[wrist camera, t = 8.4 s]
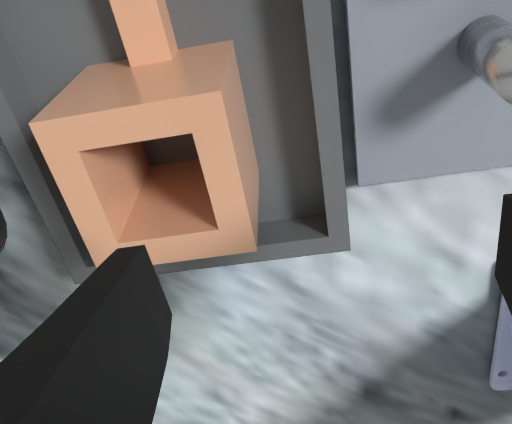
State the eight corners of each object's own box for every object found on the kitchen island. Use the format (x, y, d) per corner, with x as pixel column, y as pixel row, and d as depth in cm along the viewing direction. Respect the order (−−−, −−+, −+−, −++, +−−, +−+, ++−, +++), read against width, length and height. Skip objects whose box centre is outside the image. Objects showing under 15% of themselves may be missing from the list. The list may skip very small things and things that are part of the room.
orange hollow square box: (259, 172, 19) (257, 251, 15) (133, 191, 20) (98, 272, 15) (209, -76, 14) (185, -63, 10) (46, -42, 15) (-38, -16, 11)
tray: (342, 216, 21) (350, 250, 19) (92, 249, 22) (75, 284, 20) (308, -173, 14) (315, -185, 12) (-63, -92, 15) (-114, -89, 13)
